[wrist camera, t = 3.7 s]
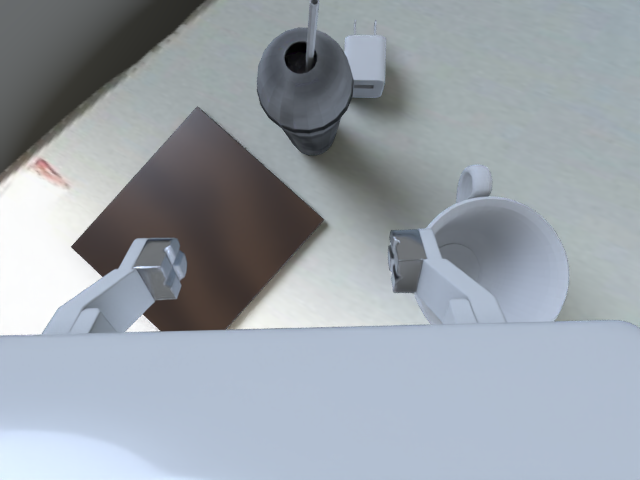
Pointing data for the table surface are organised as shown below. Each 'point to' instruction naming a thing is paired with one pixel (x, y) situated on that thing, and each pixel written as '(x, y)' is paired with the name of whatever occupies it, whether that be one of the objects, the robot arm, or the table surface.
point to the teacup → (502, 250)
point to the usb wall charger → (366, 63)
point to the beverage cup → (305, 85)
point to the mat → (204, 224)
